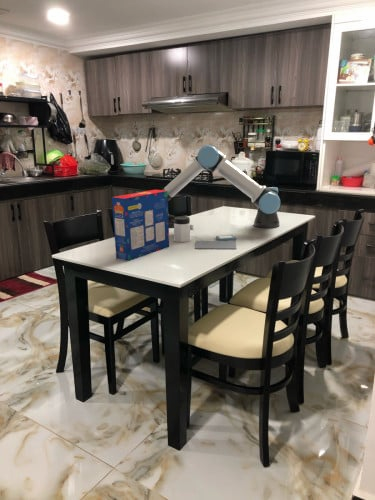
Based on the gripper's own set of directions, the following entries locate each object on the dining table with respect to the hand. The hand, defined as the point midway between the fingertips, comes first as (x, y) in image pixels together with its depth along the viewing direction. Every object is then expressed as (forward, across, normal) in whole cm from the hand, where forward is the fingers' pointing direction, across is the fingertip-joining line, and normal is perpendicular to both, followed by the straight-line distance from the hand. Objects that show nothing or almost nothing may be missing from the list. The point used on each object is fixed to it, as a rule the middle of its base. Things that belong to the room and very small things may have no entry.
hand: (191, 228), depth 202 cm
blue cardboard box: (+4, +31, -7) cm, 32 cm away
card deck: (+10, -15, -7) cm, 19 cm away
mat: (+16, -4, -7) cm, 17 cm away
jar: (-3, +4, -7) cm, 8 cm away
